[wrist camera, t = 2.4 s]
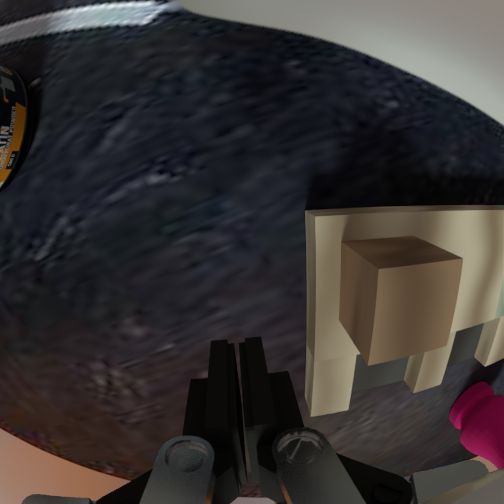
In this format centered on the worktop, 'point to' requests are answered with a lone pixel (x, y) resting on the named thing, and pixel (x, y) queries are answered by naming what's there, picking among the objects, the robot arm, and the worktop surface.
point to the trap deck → (466, 311)
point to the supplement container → (14, 123)
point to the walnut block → (397, 296)
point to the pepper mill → (481, 422)
